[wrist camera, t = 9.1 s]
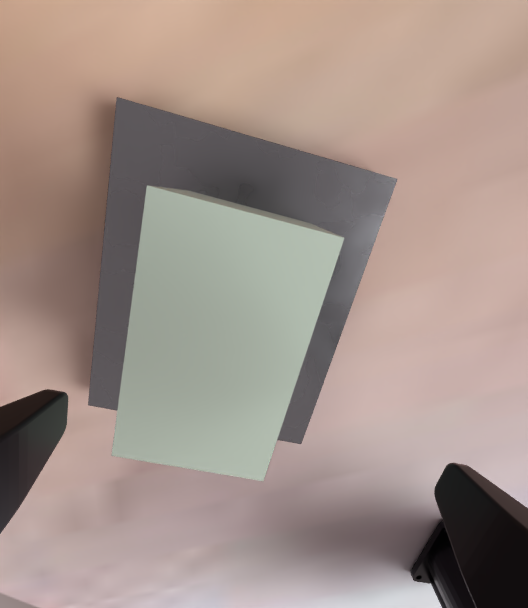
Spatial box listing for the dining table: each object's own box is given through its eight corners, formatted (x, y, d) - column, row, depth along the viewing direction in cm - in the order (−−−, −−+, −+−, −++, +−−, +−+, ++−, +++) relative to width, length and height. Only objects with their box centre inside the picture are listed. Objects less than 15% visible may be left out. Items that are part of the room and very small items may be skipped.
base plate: (297, 427, 21) (309, 485, 17) (100, 390, 20) (57, 443, 15) (384, 180, 16) (432, 174, 12) (129, 106, 15) (79, 69, 10)
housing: (260, 393, 18) (263, 481, 13) (157, 372, 18) (111, 455, 12) (310, 223, 15) (344, 237, 10) (188, 190, 15) (146, 185, 9)
